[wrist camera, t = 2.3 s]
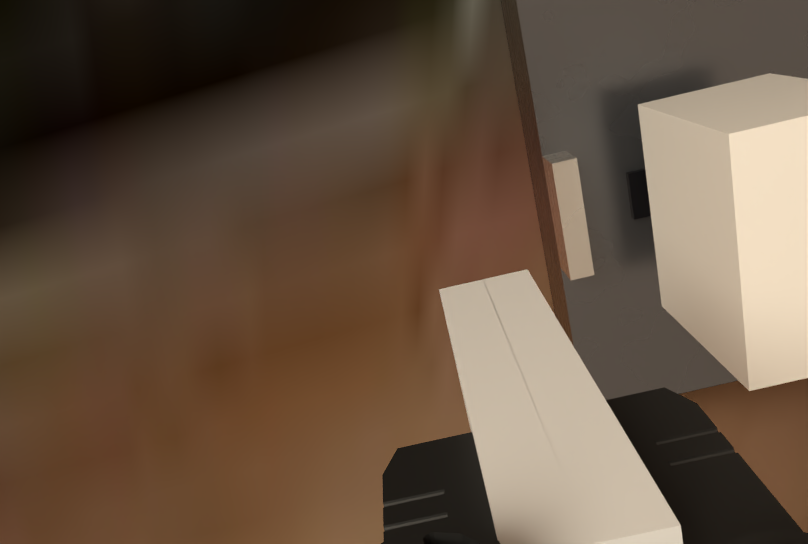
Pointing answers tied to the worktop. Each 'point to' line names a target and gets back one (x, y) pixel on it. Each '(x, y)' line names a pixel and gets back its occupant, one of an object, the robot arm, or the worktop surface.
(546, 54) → the console
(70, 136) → the worktop surface
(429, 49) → the worktop surface
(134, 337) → the worktop surface
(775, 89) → the block
